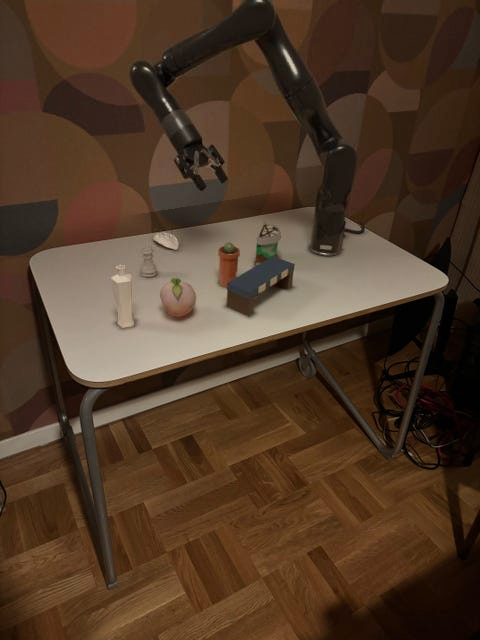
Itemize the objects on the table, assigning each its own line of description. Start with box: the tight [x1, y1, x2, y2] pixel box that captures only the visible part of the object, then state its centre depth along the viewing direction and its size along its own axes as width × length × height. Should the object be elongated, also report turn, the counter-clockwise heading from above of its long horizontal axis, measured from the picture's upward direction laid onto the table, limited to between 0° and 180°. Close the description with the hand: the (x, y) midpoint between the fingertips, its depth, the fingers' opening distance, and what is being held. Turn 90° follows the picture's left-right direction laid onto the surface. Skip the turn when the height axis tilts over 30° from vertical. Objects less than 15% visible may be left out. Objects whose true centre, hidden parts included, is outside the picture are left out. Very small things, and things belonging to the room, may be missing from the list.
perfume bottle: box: [110, 264, 135, 329], centre depth 115 cm, size 5×4×15 cm
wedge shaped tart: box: [255, 221, 282, 266], centre depth 147 cm, size 12×6×10 cm, turn 168°
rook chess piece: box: [140, 245, 158, 278], centre depth 138 cm, size 4×4×8 cm
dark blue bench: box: [226, 256, 296, 317], centre depth 130 cm, size 20×7×7 cm, turn 142°
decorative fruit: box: [159, 277, 197, 317], centre depth 120 cm, size 9×8×10 cm
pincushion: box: [152, 225, 180, 251], centre depth 155 cm, size 12×6×6 cm, turn 38°
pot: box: [217, 242, 241, 288], centre depth 134 cm, size 6×6×12 cm
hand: (214, 185), depth 132 cm, fingers open, 8 cm apart
